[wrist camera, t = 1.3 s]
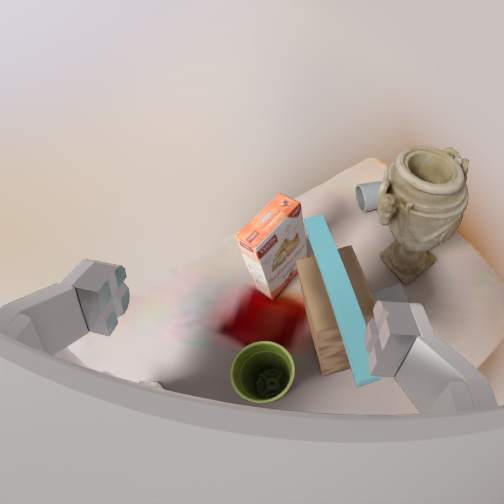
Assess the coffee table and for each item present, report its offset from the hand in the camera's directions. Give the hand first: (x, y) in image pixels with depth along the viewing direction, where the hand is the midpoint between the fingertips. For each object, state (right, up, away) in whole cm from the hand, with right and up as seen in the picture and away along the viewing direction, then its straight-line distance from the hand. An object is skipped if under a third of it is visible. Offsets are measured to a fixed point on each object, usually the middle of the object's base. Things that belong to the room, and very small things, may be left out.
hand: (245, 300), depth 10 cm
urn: (+39, -1, +63) cm, 74 cm away
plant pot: (+4, -26, +54) cm, 60 cm away
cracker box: (+8, -4, +69) cm, 70 cm away
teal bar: (+12, -5, +34) cm, 36 cm away
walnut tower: (+18, -18, +55) cm, 61 cm away
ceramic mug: (+33, +15, +76) cm, 85 cm away
